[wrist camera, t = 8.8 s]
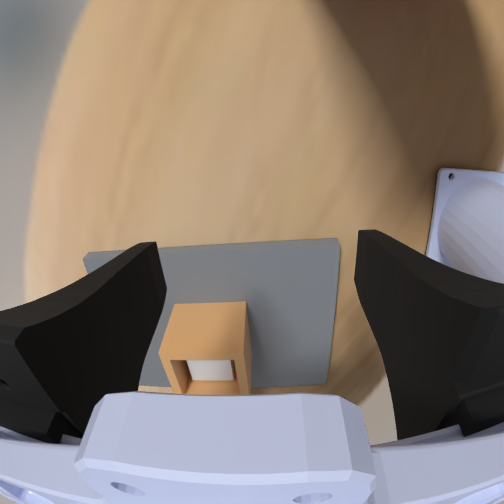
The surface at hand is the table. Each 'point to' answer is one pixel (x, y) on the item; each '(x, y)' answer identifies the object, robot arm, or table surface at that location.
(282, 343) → the duct board
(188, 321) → the tan square tube
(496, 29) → the table surface
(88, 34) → the table surface
